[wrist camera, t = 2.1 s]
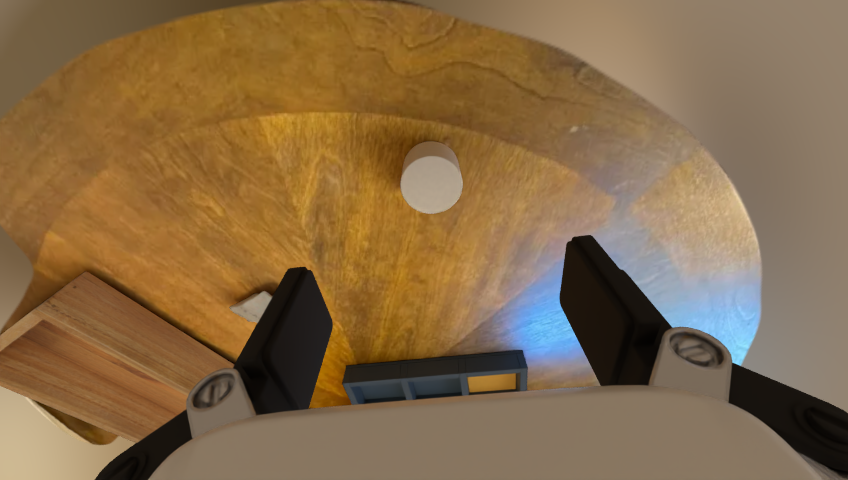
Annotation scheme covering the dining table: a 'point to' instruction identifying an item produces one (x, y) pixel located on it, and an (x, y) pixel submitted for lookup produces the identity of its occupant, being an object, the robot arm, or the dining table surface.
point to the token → (431, 177)
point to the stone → (252, 306)
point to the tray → (104, 359)
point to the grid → (436, 377)
